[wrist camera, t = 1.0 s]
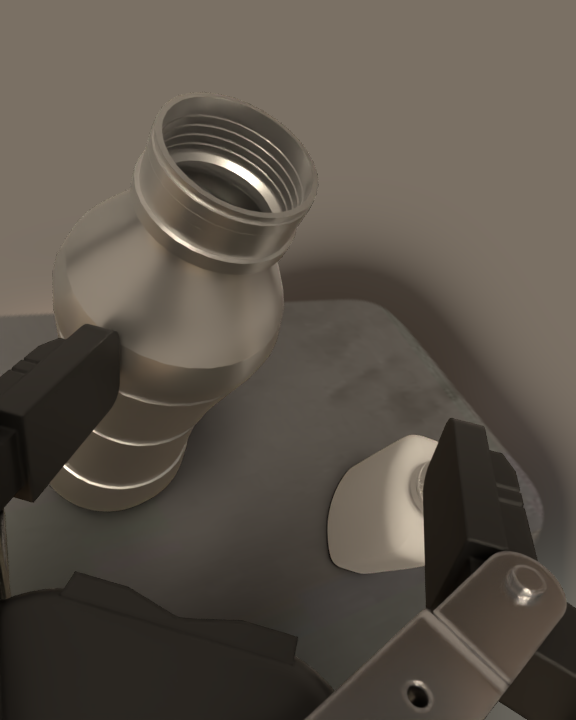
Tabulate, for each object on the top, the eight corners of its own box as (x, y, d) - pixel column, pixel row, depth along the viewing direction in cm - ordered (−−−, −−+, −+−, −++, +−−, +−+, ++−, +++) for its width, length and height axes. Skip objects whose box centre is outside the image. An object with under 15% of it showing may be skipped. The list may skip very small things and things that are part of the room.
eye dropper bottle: (412, 512, 31) (562, 464, 20) (353, 588, 28) (491, 578, 18) (358, 457, 31) (478, 383, 21) (295, 526, 29) (396, 482, 18)
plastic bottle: (158, 533, 26) (384, 322, 11) (11, 508, 24) (23, 199, 9) (180, 415, 30) (374, 125, 14) (52, 384, 28) (116, 1, 12)
